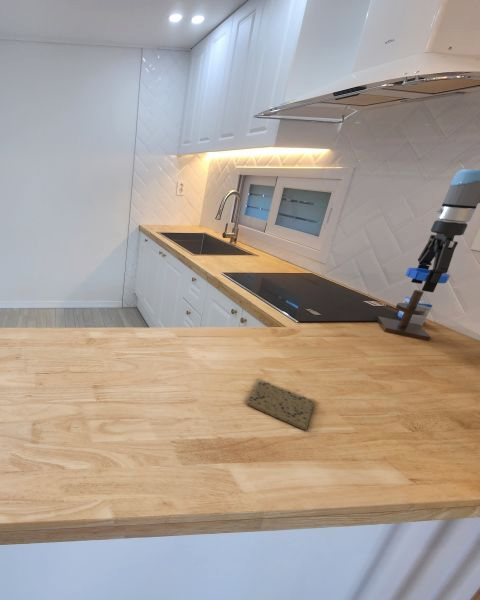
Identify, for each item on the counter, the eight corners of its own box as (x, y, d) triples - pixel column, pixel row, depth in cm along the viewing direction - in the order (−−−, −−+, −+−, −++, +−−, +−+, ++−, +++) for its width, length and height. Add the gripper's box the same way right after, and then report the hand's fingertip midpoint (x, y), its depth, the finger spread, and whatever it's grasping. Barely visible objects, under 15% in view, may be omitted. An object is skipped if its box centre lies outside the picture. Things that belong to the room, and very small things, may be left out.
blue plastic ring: (439, 277, 116) (442, 271, 115) (451, 285, 108) (455, 278, 107) (402, 272, 120) (404, 265, 119) (411, 279, 112) (414, 272, 111)
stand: (416, 328, 124) (435, 290, 118) (428, 341, 114) (449, 300, 108) (376, 319, 129) (392, 282, 123) (384, 331, 119) (401, 292, 113)
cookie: (245, 404, 77) (246, 401, 76) (259, 381, 85) (260, 378, 85) (306, 431, 70) (307, 427, 69) (314, 403, 78) (315, 400, 78)
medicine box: (396, 315, 134) (405, 295, 131) (409, 317, 133) (419, 297, 130) (408, 324, 127) (418, 303, 123) (422, 326, 126) (433, 304, 122)
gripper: (423, 216, 118) (397, 276, 126) (450, 224, 99) (418, 294, 108) (452, 218, 114) (424, 280, 123) (486, 227, 96) (450, 299, 104)
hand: (421, 286), depth 115 cm, fingers closed on blue plastic ring, 10 cm apart
